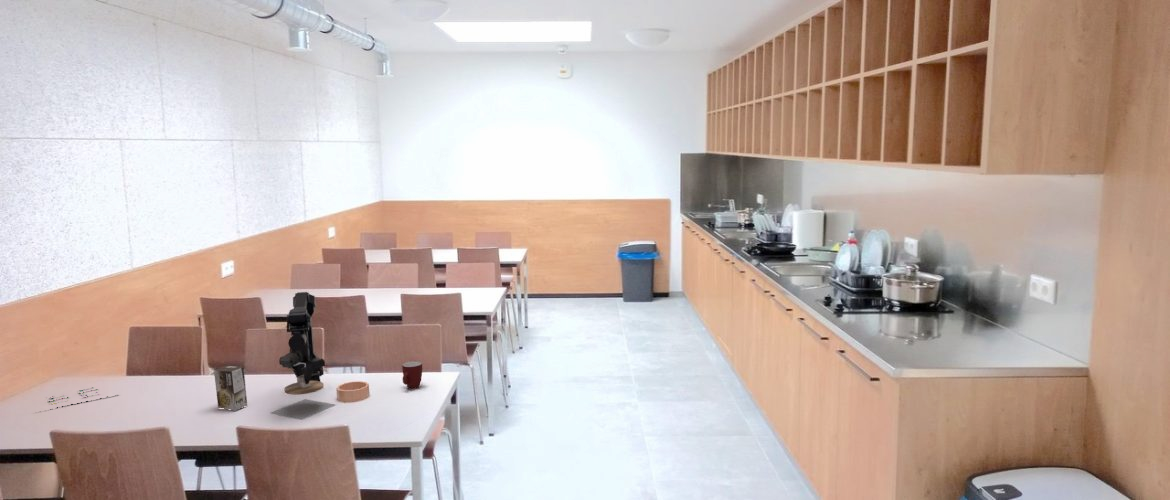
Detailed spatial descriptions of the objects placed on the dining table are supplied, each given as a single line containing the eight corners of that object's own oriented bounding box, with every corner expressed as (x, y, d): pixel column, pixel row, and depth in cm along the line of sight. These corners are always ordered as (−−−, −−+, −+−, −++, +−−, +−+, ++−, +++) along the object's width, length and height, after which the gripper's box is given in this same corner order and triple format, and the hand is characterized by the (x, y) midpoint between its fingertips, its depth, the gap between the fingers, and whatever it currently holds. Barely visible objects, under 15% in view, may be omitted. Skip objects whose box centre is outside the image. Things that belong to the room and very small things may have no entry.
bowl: (331, 402, 294) (330, 388, 294) (353, 392, 305) (352, 379, 304) (353, 406, 289) (352, 392, 288) (375, 396, 299) (374, 383, 299)
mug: (415, 392, 303) (413, 369, 301) (397, 391, 304) (395, 368, 303) (426, 384, 313) (425, 361, 311) (409, 383, 315) (407, 361, 313)
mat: (269, 415, 281) (269, 413, 281) (305, 401, 296) (305, 399, 296) (302, 422, 273) (301, 419, 273) (336, 407, 288) (336, 404, 288)
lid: (276, 391, 281) (275, 379, 281) (305, 380, 294) (304, 369, 293) (302, 396, 275) (301, 384, 274) (331, 385, 287) (330, 373, 286)
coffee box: (248, 406, 293) (244, 366, 291) (235, 411, 287) (231, 371, 285) (230, 404, 296) (226, 364, 294) (217, 409, 290) (213, 369, 288)
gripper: (265, 346, 279) (269, 386, 281) (300, 351, 270) (304, 393, 273) (289, 339, 289) (293, 378, 291) (324, 344, 280) (327, 384, 282)
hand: (303, 383), depth 284 cm, fingers closed on lid, 3 cm apart
